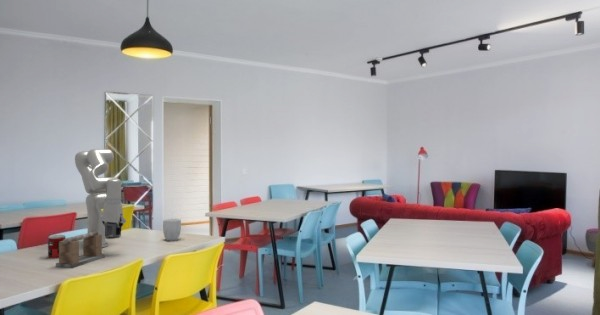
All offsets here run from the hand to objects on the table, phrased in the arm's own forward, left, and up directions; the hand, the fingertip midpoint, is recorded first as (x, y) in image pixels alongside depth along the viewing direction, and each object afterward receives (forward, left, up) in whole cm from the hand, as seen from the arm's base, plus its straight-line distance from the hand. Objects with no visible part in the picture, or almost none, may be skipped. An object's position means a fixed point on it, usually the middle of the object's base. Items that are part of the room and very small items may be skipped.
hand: (112, 233), depth 230 cm
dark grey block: (0, 0, -1) cm, 1 cm away
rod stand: (-4, -18, -11) cm, 22 cm away
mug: (+11, +43, -11) cm, 45 cm away
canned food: (-24, -13, -11) cm, 30 cm away
